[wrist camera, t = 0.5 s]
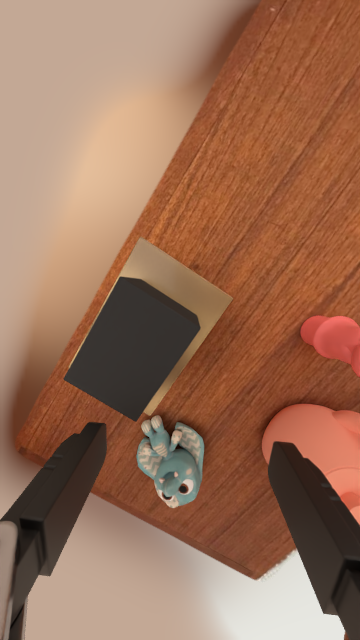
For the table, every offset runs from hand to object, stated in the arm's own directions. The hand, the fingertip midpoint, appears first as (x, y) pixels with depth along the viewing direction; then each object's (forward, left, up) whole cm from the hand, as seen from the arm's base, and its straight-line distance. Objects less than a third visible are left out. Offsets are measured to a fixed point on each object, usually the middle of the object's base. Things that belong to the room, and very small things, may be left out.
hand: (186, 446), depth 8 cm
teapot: (+21, +5, -16) cm, 27 cm away
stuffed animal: (+11, -12, -16) cm, 23 cm away
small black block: (-5, 0, -6) cm, 8 cm away
